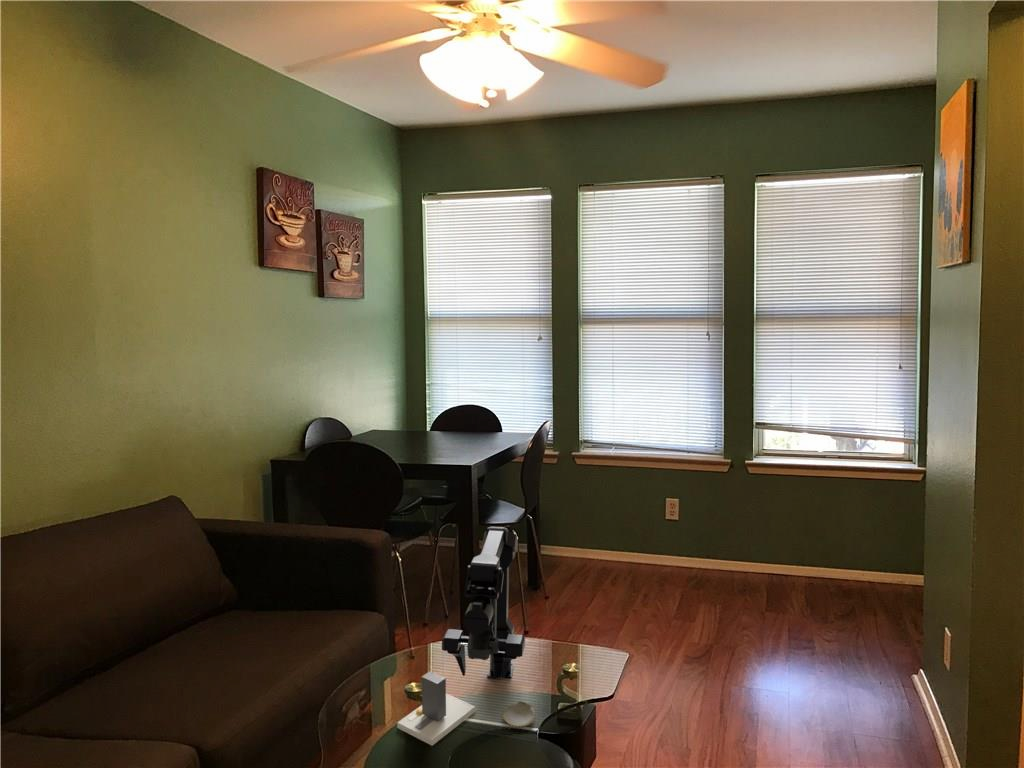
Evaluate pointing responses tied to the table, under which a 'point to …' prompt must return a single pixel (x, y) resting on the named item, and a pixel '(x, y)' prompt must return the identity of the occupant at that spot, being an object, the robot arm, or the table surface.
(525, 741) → the table surface
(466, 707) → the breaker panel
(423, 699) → the handle
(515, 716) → the seashell
